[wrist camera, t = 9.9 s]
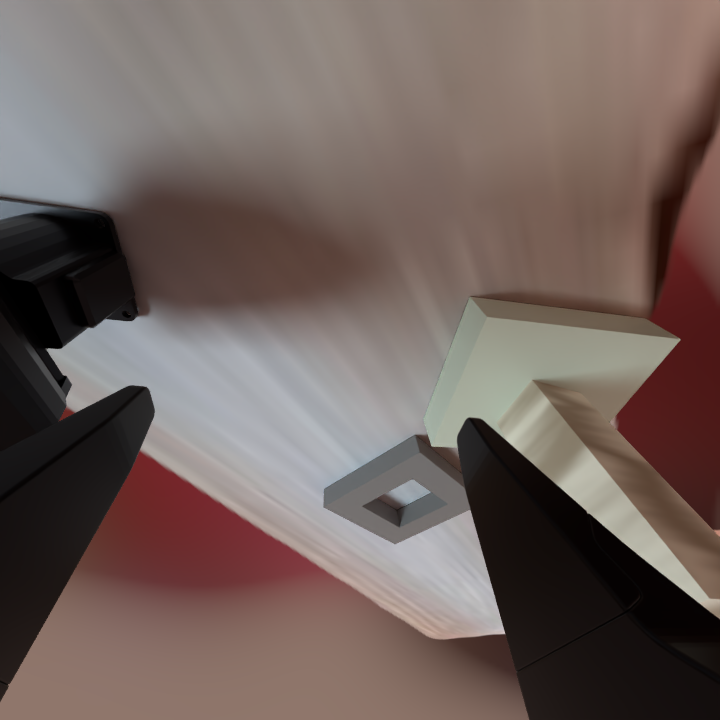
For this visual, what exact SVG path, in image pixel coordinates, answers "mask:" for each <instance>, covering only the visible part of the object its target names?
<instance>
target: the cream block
mask: <svg viewBox="0 0 720 720" xmlns="http://www.w3.org/2000/svg"><path fill="white" fill-rule="evenodd" d="M497 424H498V426H499V428H500V430H501V431H502V433H503V435H504V437H505V439H506V440H507V441H508V442H509V443H510V444H511V445H512V446H513V447H514V448H516V449H517V450H518V451H519V452H520V453H521V454H522V455H524V456H525V457H526V458H527V459H528V460H529V461H530V462H532V463H533V464H534V465H535V466H536V467H537V468H538V469H539V470H541V471H542V472H543V473H544V474H545V475H546V476H547V477H549V478H550V479H551V480H552V481H553V482H554V483H555V484H557V485H558V486H559V487H560V488H561V489H562V490H563V491H565V492H566V493H567V494H568V495H569V496H570V497H571V498H573V499H574V500H575V501H576V502H577V503H578V504H579V505H580V506H582V507H583V508H584V509H585V510H586V511H587V513H589V514H591V515H592V516H593V517H594V518H595V519H597V520H598V521H599V522H600V523H601V524H602V525H603V526H604V527H606V528H607V529H608V530H609V531H610V532H612V533H613V534H614V535H615V536H616V537H617V538H619V539H620V540H621V541H622V542H623V543H624V544H626V545H627V546H628V547H629V548H631V549H632V550H633V551H634V552H636V553H637V554H638V555H639V556H640V557H642V558H643V559H644V560H645V561H647V562H648V563H649V564H650V565H652V566H653V567H654V568H655V569H657V570H658V571H659V572H660V573H662V574H663V575H664V576H666V577H667V578H668V579H669V580H671V581H672V582H673V583H674V584H676V585H677V586H678V587H679V588H681V589H682V590H683V591H685V592H686V593H687V594H688V595H690V596H691V597H692V598H693V599H695V600H696V601H697V602H698V603H700V604H701V605H702V606H703V607H705V608H706V609H707V610H709V611H710V612H711V613H713V614H714V615H715V616H716V617H718V618H719V619H720V537H719V536H718V535H717V534H716V533H715V532H714V531H713V530H712V529H711V528H710V527H709V526H708V525H707V523H705V522H704V521H703V519H702V518H701V517H700V516H699V515H698V514H697V513H696V512H695V511H694V510H693V509H692V508H691V507H690V506H689V505H688V504H687V503H686V502H685V501H684V500H683V499H682V498H681V497H680V495H679V494H677V492H676V491H675V490H674V489H673V488H672V487H671V486H670V485H669V484H668V483H667V482H666V481H665V480H664V479H663V478H662V477H661V476H660V475H659V474H658V473H657V472H656V471H655V469H654V468H652V466H651V465H650V464H649V463H648V462H647V461H646V460H645V459H644V458H643V457H642V456H641V455H640V454H639V453H638V452H637V451H636V450H635V449H634V448H633V447H632V446H631V445H630V444H629V443H628V442H627V440H626V439H625V438H624V437H623V436H622V435H621V434H620V433H619V432H618V431H617V430H616V429H615V428H614V427H613V426H612V425H611V424H610V423H609V422H608V421H607V420H606V419H605V418H604V417H603V415H602V414H601V413H600V412H599V411H598V410H597V409H596V408H595V407H594V406H593V405H592V404H591V403H590V402H589V401H588V400H587V399H586V398H585V397H584V396H583V395H582V394H581V393H579V392H575V391H572V390H568V389H564V388H561V387H557V386H553V385H549V384H546V383H542V382H538V381H535V380H531V381H530V383H529V384H528V385H527V386H526V387H525V389H524V390H523V391H522V392H521V394H520V395H519V396H518V397H517V398H516V400H515V401H514V402H513V403H512V404H511V406H510V407H509V408H508V409H507V411H506V412H505V413H504V414H503V415H502V417H501V418H500V419H499V420H498V421H497Z"/></svg>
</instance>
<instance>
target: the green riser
mask: <svg viewBox="0 0 720 720" xmlns="http://www.w3.org/2000/svg"><path fill="white" fill-rule="evenodd" d="M680 340H681V339H680V338H678V337H676V336H674V335H673V334H671V333H669V332H667V331H666V330H664V329H662V328H661V327H659V326H657V325H656V324H654V323H652V322H650V321H649V320H647V319H645V318H638V317H630V316H622V315H614V314H606V313H598V312H590V311H582V310H574V309H566V308H558V307H549V306H541V305H533V304H525V303H517V302H509V301H501V300H493V299H485V298H477V297H469V300H468V302H467V305H466V308H465V310H464V313H463V316H462V318H461V321H460V324H459V326H458V329H457V332H456V334H455V337H454V340H453V342H452V345H451V348H450V350H449V353H448V356H447V358H446V361H445V363H444V366H443V369H442V371H441V374H440V377H439V379H438V382H437V385H436V387H435V390H434V393H433V395H432V398H431V401H430V403H429V406H428V409H427V411H426V414H425V417H424V419H423V420H424V424H425V427H426V430H427V433H428V436H429V440H430V443H431V446H434V447H453V448H458V446H457V436H458V433H459V431H460V429H461V427H462V426H463V424H464V422H465V420H466V419H467V418H468V417H473V418H481V419H482V420H484V421H485V422H486V423H487V424H488V425H489V426H491V427H492V428H493V429H494V430H495V431H496V432H497V433H498V434H500V435H501V436H502V437H503V438H504V439H505V437H504V435H503V433H502V431H501V430H500V428H499V426H498V424H497V421H498V420H499V419H500V418H501V417H502V415H503V414H504V413H505V412H506V411H507V409H508V408H509V407H510V406H511V404H512V403H513V402H514V401H515V400H516V398H517V397H518V396H519V395H520V394H521V392H522V391H523V390H524V389H525V387H526V386H527V385H528V384H529V383H530V381H531V380H535V381H538V382H542V383H546V384H549V385H553V386H557V387H561V388H564V389H568V390H572V391H575V392H579V393H581V394H582V395H583V396H584V397H585V398H586V399H587V400H588V401H589V402H590V403H591V404H592V405H593V406H594V407H595V408H596V409H597V410H598V411H599V412H600V413H601V414H602V415H603V417H604V418H605V419H606V420H607V421H608V422H609V423H610V421H611V420H612V419H613V418H614V417H615V416H616V414H617V413H618V412H619V411H620V410H621V409H622V407H623V406H624V405H625V404H626V403H627V402H628V400H629V399H630V398H631V397H632V396H633V394H634V393H635V392H636V391H637V390H638V389H639V388H640V386H641V385H642V384H643V383H644V382H645V380H646V379H647V378H648V377H649V376H650V375H651V373H652V372H653V371H654V370H655V369H656V367H658V365H659V364H660V363H661V362H662V361H663V359H664V358H665V357H666V356H667V355H668V354H669V352H670V351H671V350H672V349H673V348H674V347H675V346H676V344H677V343H678V342H679V341H680ZM505 440H506V439H505ZM506 441H507V440H506Z"/></svg>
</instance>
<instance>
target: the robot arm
mask: <svg viewBox="0 0 720 720" xmlns="http://www.w3.org/2000/svg"><path fill="white" fill-rule="evenodd" d="M99 219H101V220H102V221H103V222H104V224H105V227H104V226H102V225H101V224H100V223H99ZM134 295H135V292H134V288H133V285H132V281H131V277H130V273H129V270H128V266H127V262H126V259H125V256H124V255H123V254H122V251H121V248H120V244H119V241H118V237H117V233H116V230H115V226H114V223H113V221H112V219H111V218H110V217H109V216H108V215H107V214H105V213H102V212H97V211H90V210H83V209H75V208H68V207H61V206H54V205H47V204H40V203H32V202H25V201H18V200H11V199H4V198H0V701H1V700H2V698H3V696H4V694H5V692H6V690H7V689H8V687H9V686H8V684H10V683H11V681H12V679H13V678H14V676H15V674H16V672H17V671H18V669H19V667H20V665H21V664H22V662H23V660H24V658H25V657H26V655H27V653H28V651H29V649H30V647H31V646H32V644H33V642H34V641H35V639H36V637H37V635H38V634H39V632H40V630H41V628H42V627H43V624H44V623H45V621H46V619H47V618H48V616H49V614H50V612H51V611H52V609H53V607H54V605H55V603H56V602H57V600H58V598H59V596H60V595H61V593H62V591H63V589H64V588H65V586H66V584H67V582H68V581H69V579H70V577H71V575H72V574H73V572H74V570H75V568H76V567H77V564H78V563H79V561H80V559H81V557H82V556H83V554H84V552H85V551H86V549H87V547H88V545H89V543H90V542H91V540H92V538H93V536H94V534H95V533H96V531H97V529H98V528H99V526H100V524H101V522H102V521H103V519H104V517H105V515H106V513H107V512H108V510H109V508H110V506H111V505H112V503H113V501H114V499H115V498H116V496H117V494H118V492H119V491H120V489H121V487H122V485H123V483H124V482H125V480H126V478H127V476H128V474H129V473H130V471H131V469H132V467H133V464H134V462H135V460H136V457H137V455H138V453H139V451H140V448H141V446H142V444H143V441H144V439H145V436H146V434H147V432H148V429H149V427H150V425H151V422H152V420H153V417H154V413H155V409H154V405H153V401H152V398H151V394H150V391H149V389H148V388H147V387H144V386H134V385H131V386H127V387H125V388H123V389H121V390H119V391H117V392H115V393H113V394H111V395H110V396H108V397H106V398H104V399H102V400H100V401H98V402H96V403H94V404H92V405H90V406H88V407H86V408H84V409H82V410H80V411H78V412H76V413H74V414H73V415H71V416H69V417H67V418H65V419H63V420H61V421H59V419H60V417H61V416H62V414H63V412H64V410H65V408H66V397H67V395H68V392H69V390H70V388H71V386H72V384H71V382H70V381H69V379H68V378H67V376H63V375H62V373H61V371H60V370H59V368H58V367H57V365H56V364H55V362H54V361H53V359H52V358H51V356H50V355H49V353H48V352H47V349H48V348H53V349H61V348H62V347H64V346H65V345H66V344H68V343H69V342H70V341H72V340H73V339H74V338H75V337H77V336H78V335H79V334H81V333H82V332H83V331H85V330H86V329H87V328H94V327H96V326H97V325H98V324H99V323H101V322H102V321H103V320H105V319H111V320H121V321H133V320H134V319H135V318H137V316H138V310H137V306H136V302H135V299H134ZM126 311H128V312H129V313H130V314H131V315H129V314H127V313H126ZM58 421H59V422H58ZM457 446H458V452H459V458H460V464H461V470H462V476H463V482H464V487H465V491H466V495H467V499H468V503H469V506H470V510H471V513H472V517H473V520H474V524H475V527H476V531H477V535H478V538H479V542H480V545H481V549H482V552H483V556H484V559H485V563H486V567H487V570H488V574H489V577H490V581H491V584H492V588H493V591H494V595H495V599H496V602H497V606H498V609H499V613H500V616H501V620H502V623H503V627H504V631H505V634H506V638H507V641H508V645H509V648H510V652H511V655H512V659H513V663H514V666H515V670H516V671H517V673H516V674H517V678H518V681H519V685H520V688H521V692H522V695H523V699H524V702H525V706H526V710H527V713H528V717H529V720H720V619H719V618H718V617H716V616H715V615H714V614H713V613H711V612H710V611H709V610H707V609H706V608H705V607H703V606H702V605H701V604H700V603H698V602H697V601H696V600H695V599H693V598H692V597H691V596H690V595H688V594H687V593H686V592H685V591H683V590H682V589H681V588H679V587H678V586H677V585H676V584H674V583H673V582H672V581H671V580H669V579H668V578H667V577H666V576H664V575H663V574H662V573H660V572H659V571H658V570H657V569H655V568H654V567H653V566H652V565H650V564H649V563H648V562H647V561H645V560H644V559H643V558H642V557H640V556H639V555H638V554H637V553H636V552H634V551H633V550H632V549H631V548H629V547H628V546H627V545H626V544H624V543H623V542H622V541H621V540H620V539H619V538H617V537H616V536H615V535H614V534H613V533H612V532H610V531H609V530H608V529H607V528H606V527H604V526H603V525H602V524H601V523H600V522H599V521H598V520H597V519H595V518H594V517H593V516H592V515H591V514H589V513H587V511H586V510H585V509H584V508H583V507H582V506H580V505H579V504H578V503H577V502H576V501H575V500H574V499H573V498H571V497H570V496H569V495H568V494H567V493H566V492H565V491H563V490H562V489H561V488H560V487H559V486H558V485H557V484H555V483H554V482H553V481H552V480H551V479H550V478H549V477H547V476H546V475H545V474H544V473H543V472H542V471H541V470H539V469H538V468H537V467H536V466H535V465H534V464H533V463H532V462H530V461H529V460H528V459H527V458H526V457H525V456H524V455H522V454H521V453H520V452H519V451H518V450H517V449H516V448H514V447H513V446H512V445H511V444H510V443H509V442H508V441H506V440H505V439H504V438H503V437H502V436H501V435H500V434H498V433H497V432H496V431H495V430H494V429H493V428H492V427H491V426H489V425H488V424H487V423H486V422H485V421H484V420H482V419H481V418H473V417H468V418H467V419H466V420H465V422H464V424H463V426H462V427H461V429H460V431H459V433H458V436H457Z"/></svg>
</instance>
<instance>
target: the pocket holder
mask: <svg viewBox="0 0 720 720" xmlns="http://www.w3.org/2000/svg"><path fill="white" fill-rule="evenodd" d="M411 479H414V480H415V481H417V482H418V483H419V484H421V485H422V486H424V487H425V488H426V489H428V490H429V491H431V492H432V493H430V494H428V495H426V496H424V497H422V498H420V499H418V500H416V501H414V502H412V503H410V504H408V505H406V506H404V507H403V508H401V509H399V510H395V509H393V508H392V507H390V506H388V505H387V504H385V503H383V502H382V501H380V500H378V499H377V498H378V497H380V496H382V495H383V494H385V493H387V492H389V491H391V490H393V489H394V488H396V487H398V486H400V485H402V484H404V483H406V482H407V481H409V480H411ZM324 508H326V509H328V510H330V511H332V512H334V513H336V514H338V515H340V516H341V517H343V518H345V519H347V520H349V521H351V522H353V523H355V524H357V525H359V526H361V527H363V528H365V529H367V530H368V531H370V532H372V533H374V534H376V535H378V536H380V537H382V538H384V539H386V540H388V541H390V542H392V543H393V544H397V543H399V542H401V541H403V540H405V539H407V538H410V537H412V536H414V535H416V534H418V533H420V532H423V531H425V530H427V529H429V528H431V527H433V526H436V525H438V524H440V523H442V522H444V521H446V520H449V519H451V518H453V517H455V516H457V515H459V514H462V513H464V512H466V511H468V510H470V506H469V503H468V499H467V495H466V491H465V487H464V482H463V476H462V474H461V473H460V472H459V471H458V470H457V469H455V468H454V467H453V466H452V465H451V464H449V463H448V462H447V461H446V460H445V459H443V458H442V457H441V456H440V455H439V454H437V453H436V452H435V451H434V450H433V449H431V448H430V447H429V446H428V445H427V444H425V443H424V442H423V441H422V440H421V439H419V438H418V437H417V436H416V435H414V436H413V437H411V438H409V439H407V440H406V441H404V442H402V443H401V444H399V445H397V446H396V447H394V448H392V449H391V450H389V451H387V452H386V453H384V454H382V455H381V456H379V457H377V458H376V459H374V460H372V461H371V462H369V463H367V464H366V465H364V466H362V467H361V468H359V469H357V470H356V471H354V472H352V473H351V474H349V475H347V476H345V477H344V478H342V479H340V480H339V481H337V482H335V483H334V484H332V485H330V486H329V487H327V488H325V489H324Z"/></svg>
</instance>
